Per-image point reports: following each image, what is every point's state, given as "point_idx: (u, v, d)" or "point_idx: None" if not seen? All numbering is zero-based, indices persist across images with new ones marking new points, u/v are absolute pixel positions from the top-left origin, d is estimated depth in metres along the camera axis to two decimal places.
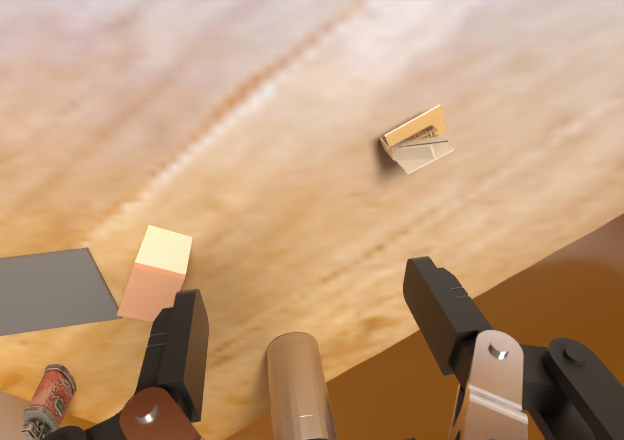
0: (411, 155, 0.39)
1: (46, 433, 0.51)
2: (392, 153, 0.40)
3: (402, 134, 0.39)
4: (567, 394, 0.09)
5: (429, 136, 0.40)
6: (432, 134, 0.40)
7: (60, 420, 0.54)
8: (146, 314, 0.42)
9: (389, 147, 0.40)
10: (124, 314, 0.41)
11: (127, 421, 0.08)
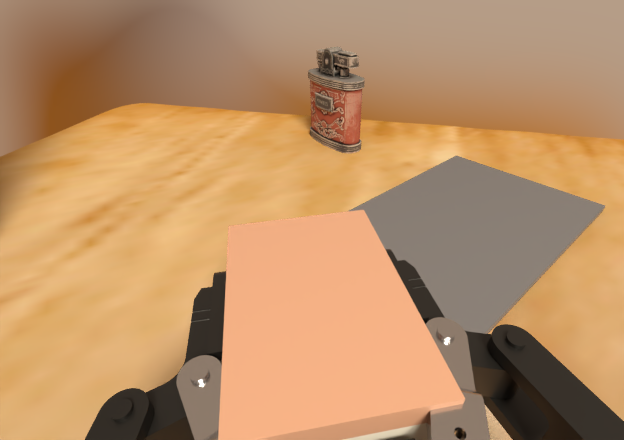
0: None
1: (323, 67, 0.37)
2: None
3: None
4: (516, 380, 0.09)
5: None
6: None
7: (313, 89, 0.39)
8: (293, 236, 0.13)
9: None
10: (348, 218, 0.14)
11: (183, 384, 0.09)
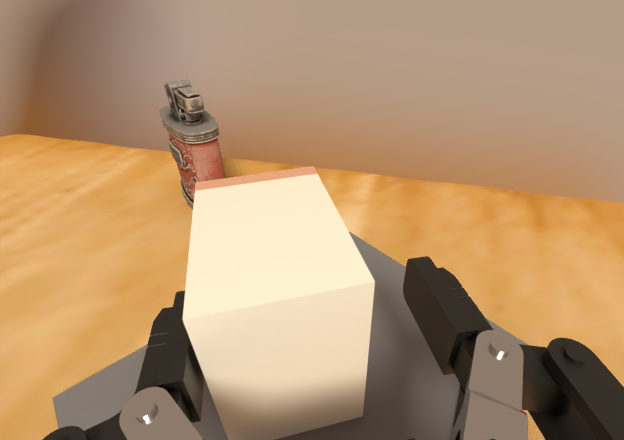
0: None
1: (171, 106, 0.27)
2: None
3: None
4: (567, 394, 0.09)
5: None
6: None
7: None
8: None
9: None
10: None
11: (127, 421, 0.08)
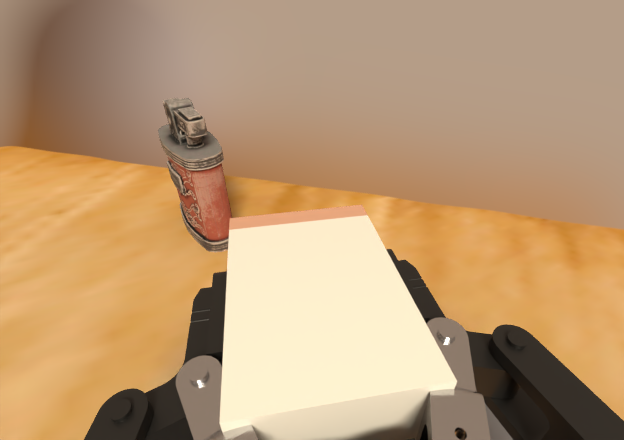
0: None
1: (170, 127, 0.25)
2: None
3: None
4: (516, 380, 0.09)
5: None
6: None
7: None
8: None
9: None
10: None
11: (183, 385, 0.09)
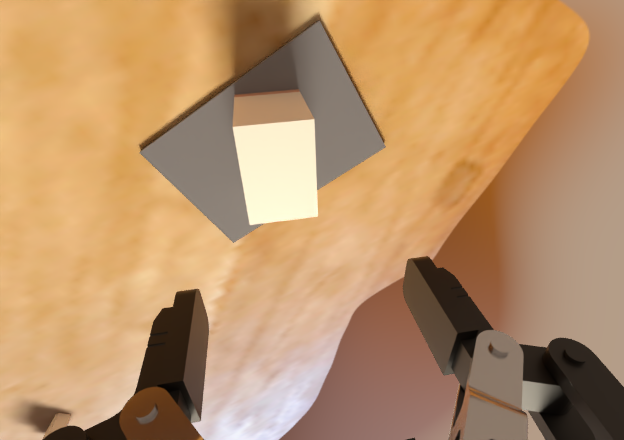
0: None
1: None
2: None
3: None
4: (567, 394, 0.09)
5: None
6: None
7: None
8: None
9: None
10: None
11: (127, 421, 0.08)
